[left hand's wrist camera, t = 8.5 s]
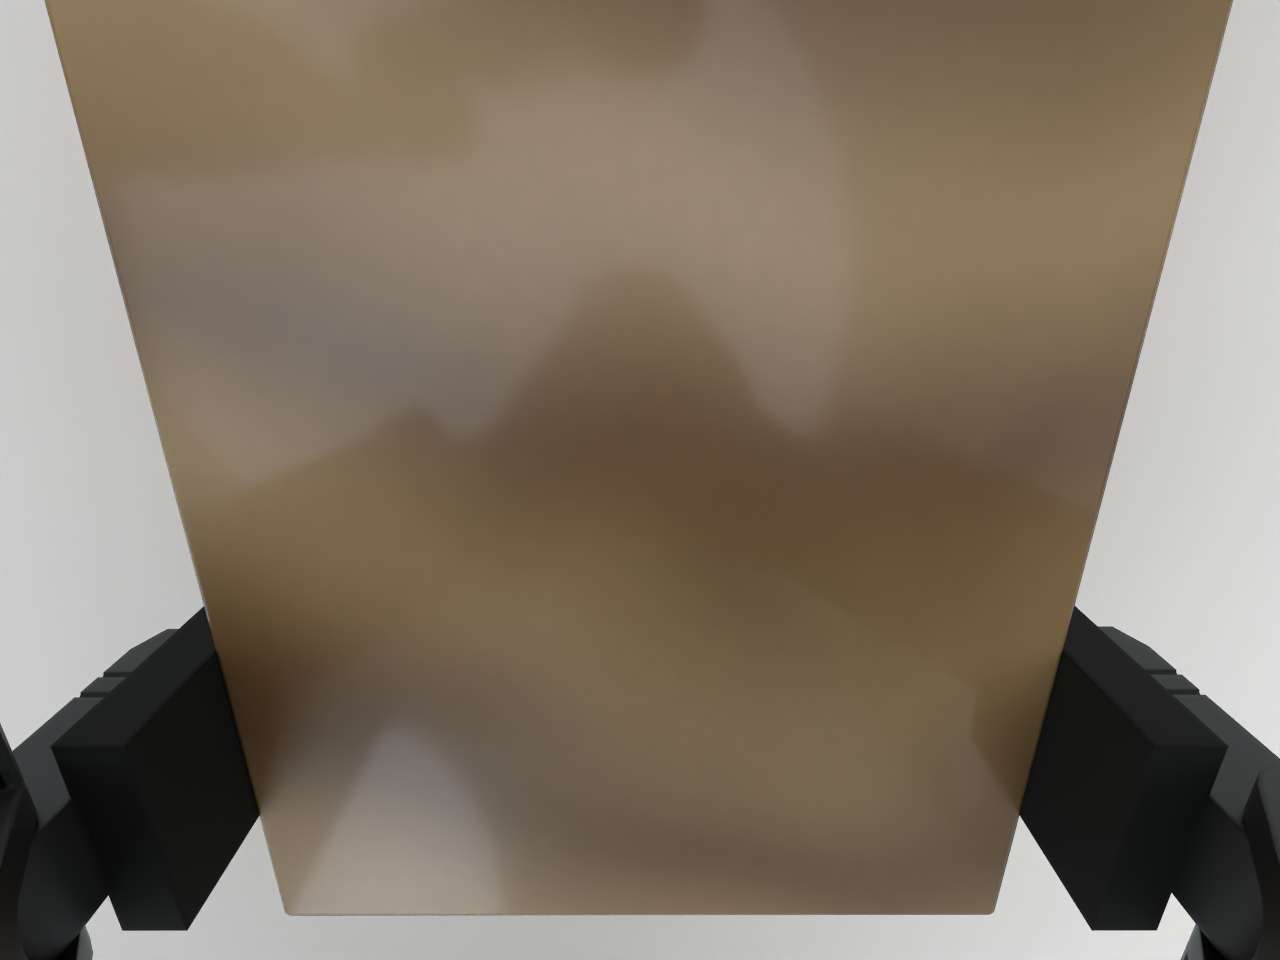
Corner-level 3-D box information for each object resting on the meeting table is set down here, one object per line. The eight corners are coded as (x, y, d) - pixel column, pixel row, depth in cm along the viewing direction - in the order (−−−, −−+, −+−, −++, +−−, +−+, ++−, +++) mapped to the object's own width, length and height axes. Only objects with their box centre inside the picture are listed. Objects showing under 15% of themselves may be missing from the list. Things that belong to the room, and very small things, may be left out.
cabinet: (341, -177, 12) (-194, -873, 4) (936, -176, 12) (1466, -868, 4) (438, 611, 18) (283, 918, 10) (840, 610, 18) (995, 917, 10)
